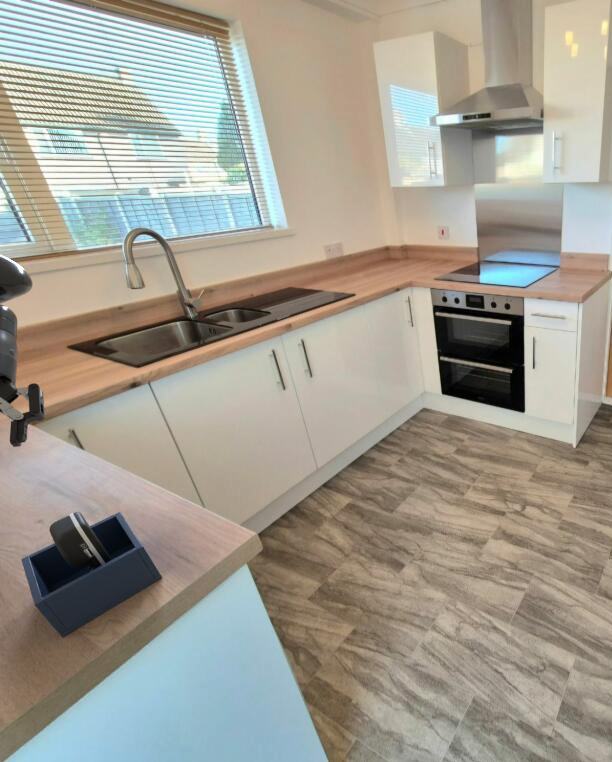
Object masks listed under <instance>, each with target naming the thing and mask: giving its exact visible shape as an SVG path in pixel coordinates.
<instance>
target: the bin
mask: <svg viewBox="0 0 612 762" xmlns="http://www.w3.org/2000/svg"><path fill="white" fill-rule="evenodd" d="M89 526H90V527H91V529H92V530H93V532H94V533H95V535H96V536H97V538H98V539H99V540H100V542H101V543H102V545H103V546H104V548H105V549H106V551H107V552H108V554H109V555H110V557H111V558H112V560H111V561H109V562H107V563H105V564H104V565H102V566H100V567H98V568H96V569H94V570H92V571H91V572H89V573H88V571H89V570H90V566H91V565H85V564H84V563H83V564H81V565H79V566H76V567H72V566H70V565H68V564H67V562H66V561H65V559H64V558H63V556H62V555H61V553H60V552H59V550H58V548H57V547H56V545H55V542H54V543H51V544H49V545H48V546H46V547H44V548H43V547H42V548H41V549H40V550H37V551H34V552H33V553H30V554H29V555H27V556H24V557H23V558H21V564H22V566H23V567H22V568H23V571H24V574H25V576H26V577H25V578H26V581H27V583H28V587H29V590H30V594H31V598H32V601H33V605H34V606H35V607H36V609H37V610H38V611H39V612H40V613H41V614H42V616H43V617H44V618H45V620H47V621H48V623H49V624H50V625H51V626H52V627H53V629H54V630H55V631H56V632H57V634H58V635H60V637H61V638H64V637H66V636H68V635H70V633H73V632H74V631H76V630H78V629H80V628H81V627H82V626H84V625H86V624H88V623H89V622H91V621H92V620H94V619H96V618H98V617H100V616H101V615H103V614H104V613H106V612H108V611H109V610H111V609H113V608H115V607H116V606H118V605H119V604H121V603H123V602H125V601H126V600H129V598H130V597H133V596H135V595H137V594H138V593H140V592H141V591H142V590H145V589H146V588H148V587H150V586H151V585H153V584H155V583H156V582H158V581H160V580H161V579H163V576H162V574H161V572H160V571H159V569H158V568H157V565H155V563H154V561H153V559H152V558H151V556H150V555H149V553H148V552H147V550H146V549H145V547H144V545H143V544H142V542H141V541H140V539H139V538H138V536H137V534H136V533H135V531H134V530H133V529H132V527H131V526H130V524H129V523H128V521H127V520H126V518H125V516H124V515H123V514H122V512H121V511H119V512H117V513H114V514H112V515H110V516H108V517H105V518H104V519H101V520H100V521H98V522H95V523H93V524H91V525H89Z"/></svg>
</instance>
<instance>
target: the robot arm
mask: <svg viewBox="0 0 612 762" xmlns="http://www.w3.org/2000/svg"><path fill="white" fill-rule="evenodd" d="M32 288H33V280H32V277H31V276H30V274H29V272H28V271H27V270H26V269H25V268H24V267H23V266H21V265H20V264H18V263H17V262H16V261H14V260H12V259H10V258H8V257H6V256H4V255H2V254H0V413H1V414H2V415H3V416H5V417H7V418H8V419H9V420H11V421H10V430H9V443H10V445H11V446H12V447H13V448H17V447H18V448H19V447H22V444H23V443H26V441H27V440H28V429H29V428H28V427H29V425H30V424H31V423H33V422H41V421H43V420H45V418H46V414H45V397H44V391H43V389H42V388H41V387H40V385H39V384H38V383H35V382H33V383H30V384H29V385H27V386H26V387H16V384H17V372H18V371H17V370H18V369H17V368H18V353H19V349H18V343H17V339H18V317H17V315H16V313H15V312H14V311H13V310H12V309H11V308H10V307H7V306H5V305H3V304H4V303H6V302H9V301H11V300H14V299H17V298H20V297H22V296H24V295H26V294H28V293H29V292H31V290H32ZM20 396H21V397H23V398H24V399H25V400H26V401H28V411H25V412H21V411H20V410H19V409H17V408H15V407H14V406H13V405H12V403H14V401H16V400H17V399H18V398H19V397H20Z"/></svg>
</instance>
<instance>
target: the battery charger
mask: <svg viewBox="0 0 612 762" xmlns="http://www.w3.org/2000/svg"><path fill="white" fill-rule="evenodd" d="M90 526H91V525H90V524H89V523H88V521H87V520H86V518H85V517H84V516H83V514H82V512H80V511H75V512H72V513H69V514H68V515H66V516H64V517H62V518H60V519H57V520H55V521H54V522H52V524H50V526H49V531H48V532H49V533H50V536H51V538H52V541H53V542H54V543H55V545H56V547H57V548H58V550H59V552H60V553H61V555H62V556H63V558H64V559H65V561H66V562H67V564H68V565H70V566H72V567H76V566H79V565H81V564H83V563H84V564H85V565H91V566H90V570H89V571H88V573H89V572H91V571H92V570H94V569H96V568H98V567H100V566H102V565H104V564H105V563H107V562H109V561H111V560H112V558H111V557H110V555H109V554H108V552H107V551H106V549H105V548H104V546H103V545H102V543H101V542H100V540H99V539H98V538H97V536H96V535H95V533H94V532H93V530H92V529H91V527H90Z"/></svg>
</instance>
